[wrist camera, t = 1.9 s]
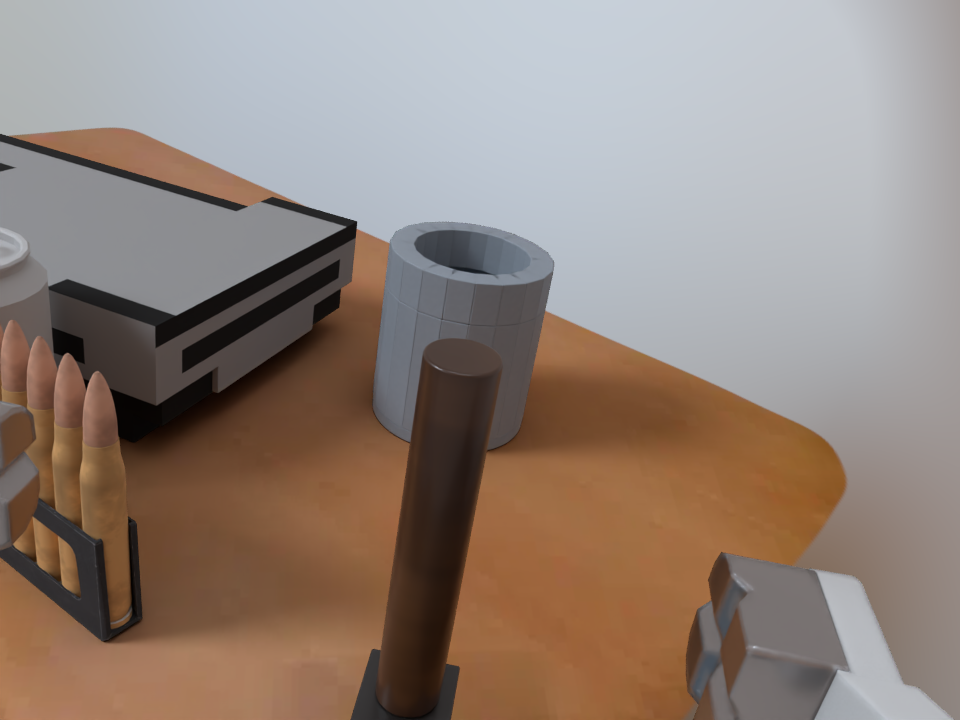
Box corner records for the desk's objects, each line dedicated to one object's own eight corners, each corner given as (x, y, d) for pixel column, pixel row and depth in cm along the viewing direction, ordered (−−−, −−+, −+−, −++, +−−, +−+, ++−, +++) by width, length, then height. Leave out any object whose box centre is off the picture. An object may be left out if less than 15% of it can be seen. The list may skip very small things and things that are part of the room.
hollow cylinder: (525, 389, 60) (557, 239, 55) (514, 466, 51) (550, 297, 46) (389, 363, 60) (408, 211, 55) (356, 435, 52) (374, 263, 47)
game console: (6, 217, 72) (-4, 117, 68) (347, 327, 64) (357, 221, 60) (-267, 297, 54) (-300, 169, 51) (157, 464, 46) (155, 326, 43)
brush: (441, 759, 33) (525, 341, 25) (427, 838, 30) (517, 395, 22) (359, 742, 33) (416, 320, 25) (337, 818, 30) (393, 370, 22)
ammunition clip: (144, 619, 37) (136, 373, 31) (105, 643, 35) (90, 390, 30) (-1, 506, 42) (-29, 275, 36) (-40, 524, 40) (-77, 286, 35)
